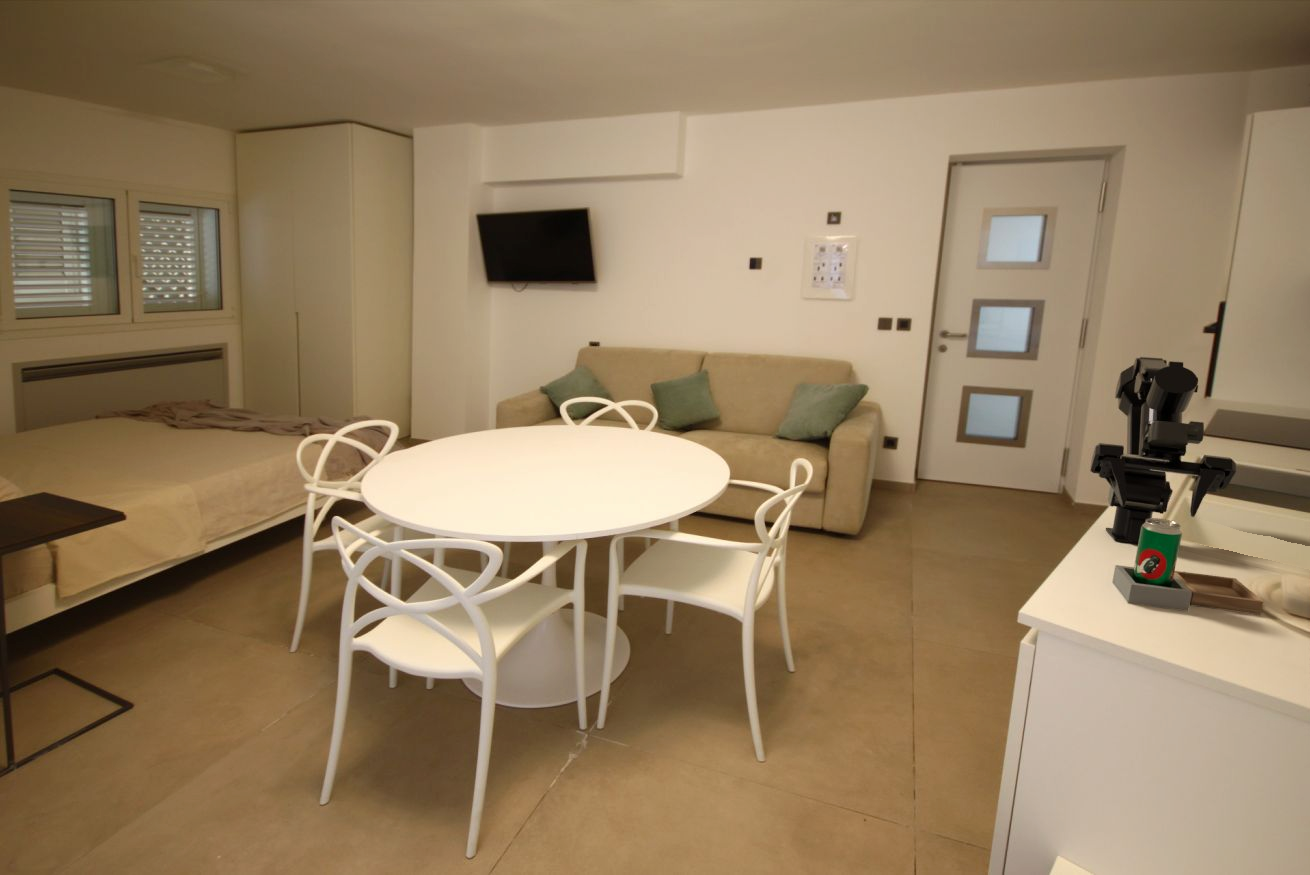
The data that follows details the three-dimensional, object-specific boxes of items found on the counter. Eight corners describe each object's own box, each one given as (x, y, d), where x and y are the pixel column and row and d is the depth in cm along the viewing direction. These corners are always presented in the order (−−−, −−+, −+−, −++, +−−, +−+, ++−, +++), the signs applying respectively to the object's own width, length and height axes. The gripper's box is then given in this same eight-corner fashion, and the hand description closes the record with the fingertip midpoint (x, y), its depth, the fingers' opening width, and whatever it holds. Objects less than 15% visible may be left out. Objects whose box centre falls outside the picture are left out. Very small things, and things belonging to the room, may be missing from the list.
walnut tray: (1168, 581, 115) (1171, 570, 115) (1233, 590, 113) (1235, 578, 112) (1190, 605, 107) (1193, 592, 107) (1260, 614, 105) (1263, 601, 104)
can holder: (1112, 582, 115) (1115, 564, 114) (1168, 589, 112) (1171, 571, 112) (1128, 602, 107) (1131, 584, 107) (1188, 611, 105) (1192, 592, 104)
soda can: (1175, 605, 107) (1190, 529, 104) (1137, 601, 108) (1152, 526, 105) (1159, 591, 112) (1173, 518, 109) (1123, 587, 113) (1136, 515, 110)
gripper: (1104, 395, 117) (1097, 474, 110) (1246, 407, 109) (1248, 494, 102) (1093, 433, 126) (1086, 509, 119) (1224, 447, 118) (1225, 530, 110)
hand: (1157, 510), depth 112 cm, fingers open, 9 cm apart
